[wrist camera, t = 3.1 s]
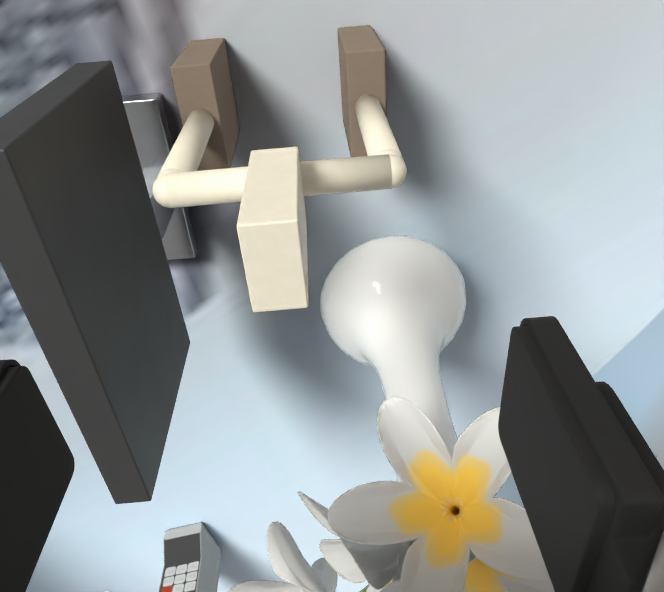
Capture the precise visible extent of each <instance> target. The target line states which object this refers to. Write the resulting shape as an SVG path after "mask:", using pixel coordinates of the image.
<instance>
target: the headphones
mask: <svg viewBox="0 0 664 592" xmlns="http://www.w3.org/2000/svg"><path fill="white" fill-rule="evenodd" d="M338 45H339V61H340V77H341V94H342V110H343V122H344V127H345V132H346V136H347V141H348V146H349V151H350V155H351V157H350V158H339V159H327V160H316V161H305V162H300V157H299V148H298V147H287V148H275V149H264V150H253V151H251V153H250V158H249V164H248V167H236V168H230V166H231V162H232V158H233V154H234V151H235V147H236V143H237V139H238V135H239V131H240V128H239V122H238V116H237V110H236V104H235V98H234V92H233V86H232V80H231V74H230V68H229V62H228V56H227V50H226V44H225V39H224V38H217V39H206V40H195V41H191V42H190V43H189V44H188V46H187V47H186V48H185V49H184V51H183V52H182V53H181V54H180V56H179V57H178V58H177V59H176V61H175V62H174V63H173V64H172V66H171V67H170V70H171V75H172V79H173V84H174V88H175V92H176V97H177V101H178V106H179V110H180V115H181V119H182V124H183V128H182V130H181V132H180V134H179V136H178V138H177V140H176V142H175V143H174V145H173V147H172V149H171V151H170V153H169V155H168V157H167V159H166V161H165V163H164V165H163V167H162V169H161V170H160V172H159V174H158V176H157V179H156V180H155V182H154V184H153V195H154V198H155V199H156V201H157V202H158V203H159V204H160V205H162V206H164V207H168V208H177V207H188V206H200V205H211V204H222V203H234V202H241V205H240V210H239V216H238V221H237V226H236V227H237V232H238V238H239V243H240V248H241V253H242V259H243V264H244V269H245V275H246V280H247V285H248V290H249V296H250V301H251V306H252V311H253V312H266V311H277V310H288V309H300V308H307V307H308V306H309V300H308V262H307V225H306V212H305V203H304V196H313V195H325V194H336V193H347V192H359V191H370V190H382V189H392V188H395V187H398V186H399V185H401V184H402V183H403V181H404V180H405V178H406V174H407V168H406V164H405V162H404V160H403V157H402V155H401V152H400V150H399V147H398V145H397V143H396V140H395V138H394V135H393V133H392V131H391V128H390V126H389V123H388V121H387V111H386V53H385V48H384V46H383V45H382V43H381V41H380V40H379V38H378V37H377V35H376V33H375V32H374V30H373V28H372V27H371V26H370V25H366V26H355V27H344V28H338Z"/></svg>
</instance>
